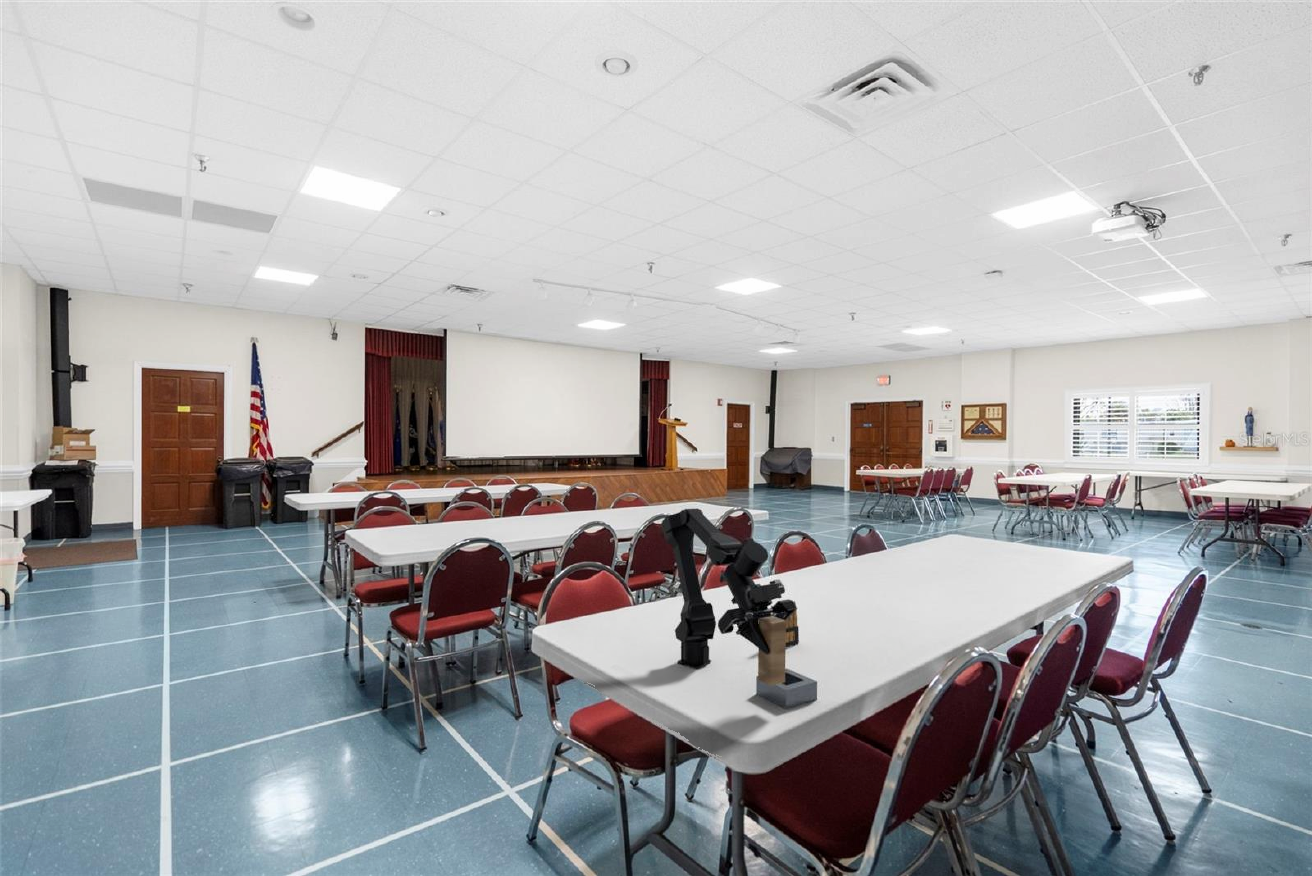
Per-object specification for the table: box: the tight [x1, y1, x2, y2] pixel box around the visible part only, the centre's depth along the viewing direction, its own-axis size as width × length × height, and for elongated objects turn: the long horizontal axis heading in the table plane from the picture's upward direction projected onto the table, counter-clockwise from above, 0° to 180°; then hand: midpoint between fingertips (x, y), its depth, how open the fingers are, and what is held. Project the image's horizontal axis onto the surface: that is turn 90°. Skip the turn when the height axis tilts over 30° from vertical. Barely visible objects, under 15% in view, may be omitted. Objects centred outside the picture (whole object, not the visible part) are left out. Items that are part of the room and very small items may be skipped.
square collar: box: [755, 667, 818, 710], centre depth 138 cm, size 9×9×4 cm
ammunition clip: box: [770, 600, 800, 648], centre depth 173 cm, size 11×2×12 cm, turn 124°
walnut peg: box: [757, 616, 787, 686], centre depth 131 cm, size 4×4×13 cm
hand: (776, 651), depth 130 cm, fingers closed on walnut peg, 4 cm apart
